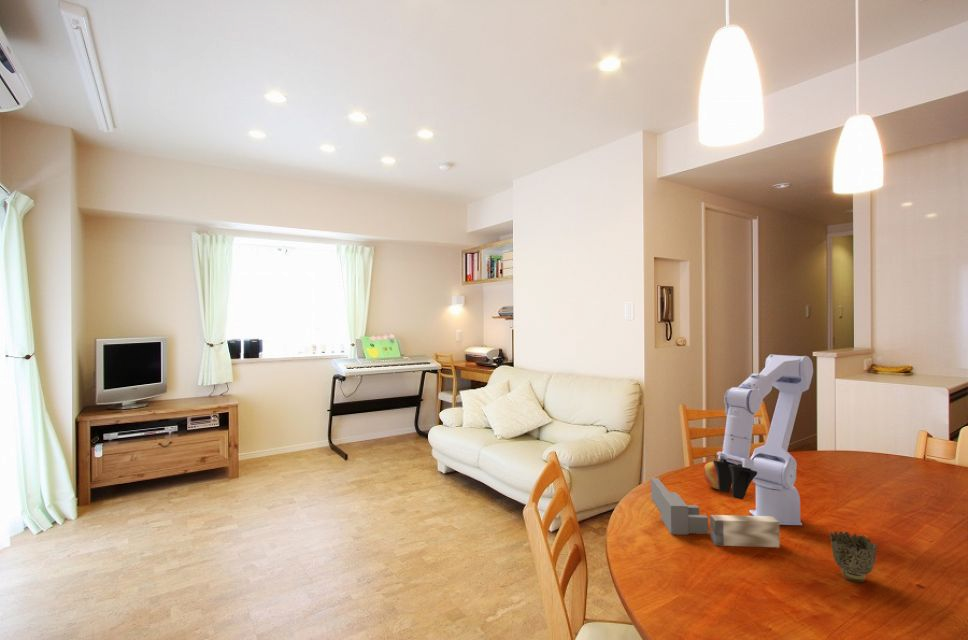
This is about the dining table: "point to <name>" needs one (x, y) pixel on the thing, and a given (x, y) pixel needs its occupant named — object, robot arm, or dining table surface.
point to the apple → (711, 474)
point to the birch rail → (744, 530)
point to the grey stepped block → (677, 511)
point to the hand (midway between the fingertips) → (730, 494)
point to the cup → (853, 555)
